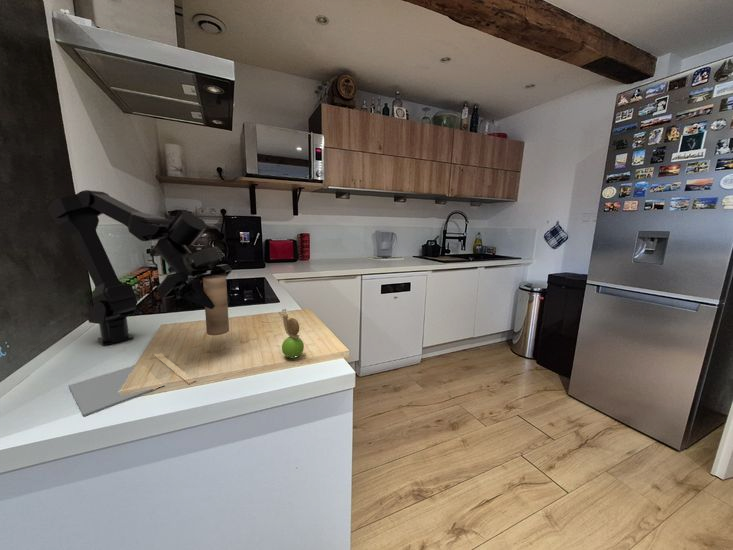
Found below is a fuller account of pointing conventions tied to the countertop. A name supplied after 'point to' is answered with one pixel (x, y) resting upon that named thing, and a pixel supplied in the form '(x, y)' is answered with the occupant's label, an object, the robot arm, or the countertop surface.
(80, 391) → the mat
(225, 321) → the smooth brown cylinder
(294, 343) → the snail figurine
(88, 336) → the countertop surface
